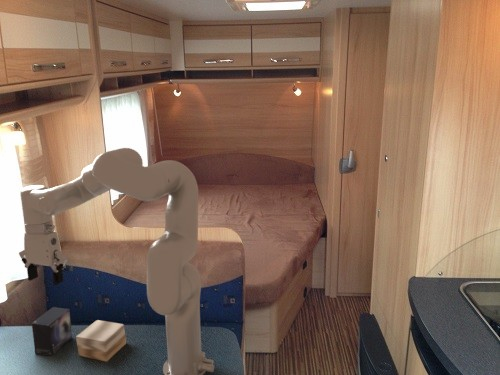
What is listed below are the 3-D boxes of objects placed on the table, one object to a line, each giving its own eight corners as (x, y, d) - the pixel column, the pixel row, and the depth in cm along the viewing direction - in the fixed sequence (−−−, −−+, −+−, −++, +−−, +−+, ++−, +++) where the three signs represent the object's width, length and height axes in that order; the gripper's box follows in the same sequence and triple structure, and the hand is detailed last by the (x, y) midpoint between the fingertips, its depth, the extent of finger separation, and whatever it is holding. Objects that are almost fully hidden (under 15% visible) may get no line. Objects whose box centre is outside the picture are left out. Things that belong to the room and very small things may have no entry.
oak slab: (126, 344, 138) (125, 334, 137) (106, 362, 129) (105, 352, 128) (100, 339, 141) (99, 329, 141) (78, 356, 132) (77, 346, 131)
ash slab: (124, 334, 138) (124, 324, 137) (105, 352, 128) (104, 341, 127) (97, 329, 140) (96, 319, 140) (77, 346, 131) (76, 336, 130)
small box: (53, 356, 132) (49, 325, 129) (34, 354, 133) (29, 323, 131) (73, 337, 142) (70, 308, 140) (55, 335, 143) (52, 306, 141)
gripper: (71, 226, 130) (77, 279, 133) (26, 221, 135) (33, 272, 139) (53, 234, 123) (59, 290, 126) (6, 228, 128) (13, 282, 132)
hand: (45, 280), depth 133 cm, fingers open, 9 cm apart
